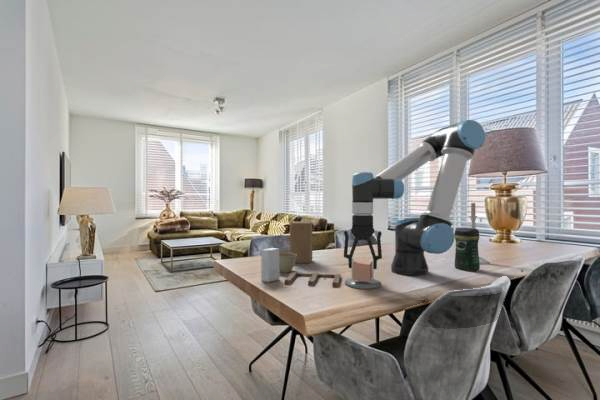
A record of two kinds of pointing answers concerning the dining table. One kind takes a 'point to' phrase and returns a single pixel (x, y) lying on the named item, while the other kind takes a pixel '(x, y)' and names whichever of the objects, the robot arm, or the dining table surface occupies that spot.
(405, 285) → the dining table surface
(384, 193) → the robot arm
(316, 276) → the rack
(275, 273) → the skincare box
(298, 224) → the wooden block
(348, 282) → the plate
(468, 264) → the coffee jar
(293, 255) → the flower pot
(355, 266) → the block
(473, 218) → the candlestick
